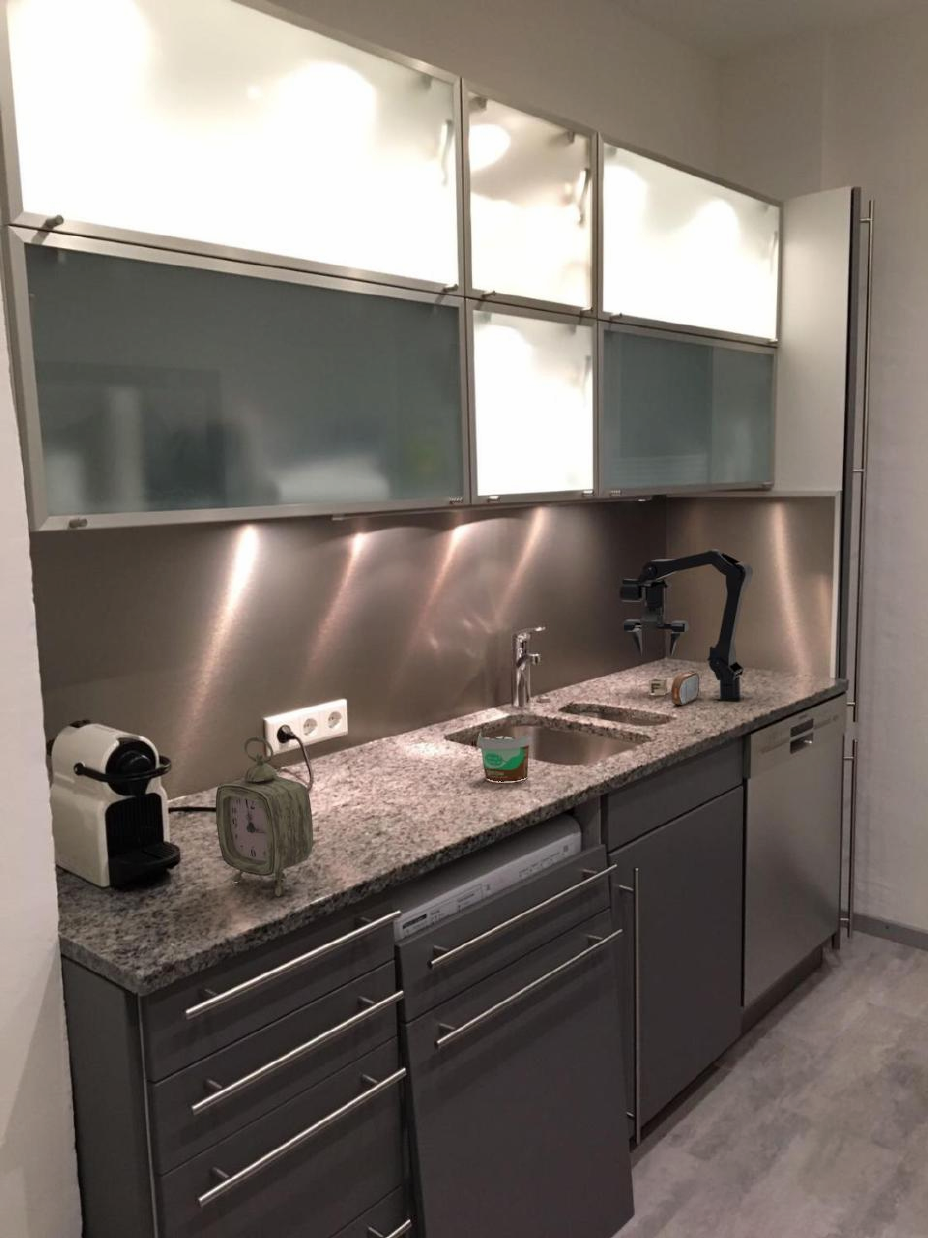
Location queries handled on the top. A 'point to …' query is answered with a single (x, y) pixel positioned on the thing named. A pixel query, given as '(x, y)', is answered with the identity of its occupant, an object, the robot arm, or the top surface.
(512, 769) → the food container
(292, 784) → the tabletop clock
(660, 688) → the letter cube
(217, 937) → the top surface
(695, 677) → the tin
